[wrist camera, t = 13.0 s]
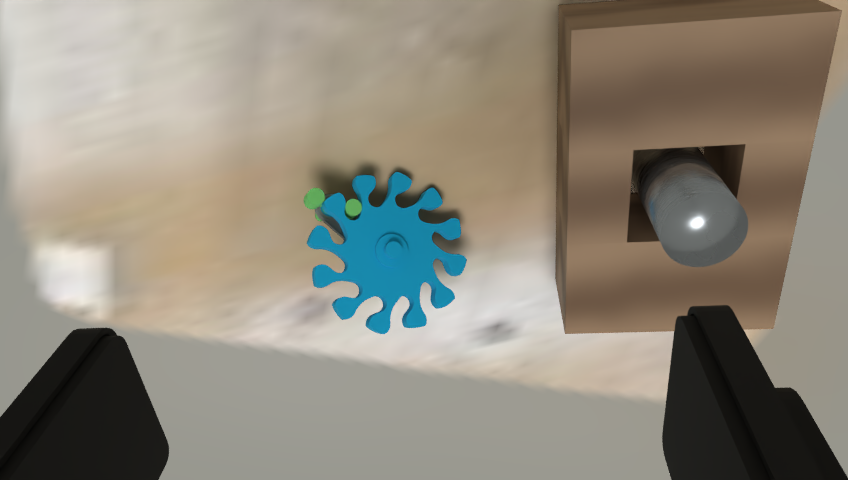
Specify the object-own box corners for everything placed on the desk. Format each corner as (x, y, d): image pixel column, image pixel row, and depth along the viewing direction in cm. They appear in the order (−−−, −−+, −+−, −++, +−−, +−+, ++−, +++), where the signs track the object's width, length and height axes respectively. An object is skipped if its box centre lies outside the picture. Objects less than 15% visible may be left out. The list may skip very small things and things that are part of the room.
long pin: (623, 121, 40) (664, 196, 31) (693, 117, 39) (754, 191, 31) (620, 182, 42) (657, 268, 33) (686, 179, 41) (741, 265, 32)
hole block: (558, 5, 37) (571, 30, 31) (788, -13, 35) (841, 10, 30) (555, 278, 45) (565, 333, 40) (739, 272, 44) (773, 328, 39)
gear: (499, 242, 42) (406, 368, 39) (463, 254, 48) (378, 365, 45) (369, 123, 41) (260, 245, 37) (347, 150, 46) (250, 258, 43)
